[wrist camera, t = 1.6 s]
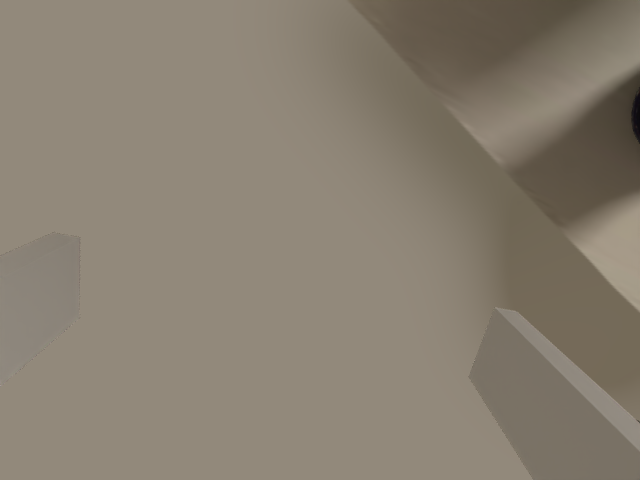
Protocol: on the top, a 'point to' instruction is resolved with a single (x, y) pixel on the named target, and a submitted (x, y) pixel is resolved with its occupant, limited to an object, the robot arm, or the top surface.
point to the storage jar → (636, 115)
